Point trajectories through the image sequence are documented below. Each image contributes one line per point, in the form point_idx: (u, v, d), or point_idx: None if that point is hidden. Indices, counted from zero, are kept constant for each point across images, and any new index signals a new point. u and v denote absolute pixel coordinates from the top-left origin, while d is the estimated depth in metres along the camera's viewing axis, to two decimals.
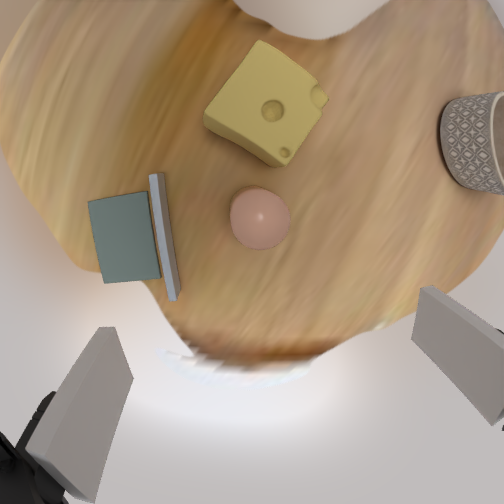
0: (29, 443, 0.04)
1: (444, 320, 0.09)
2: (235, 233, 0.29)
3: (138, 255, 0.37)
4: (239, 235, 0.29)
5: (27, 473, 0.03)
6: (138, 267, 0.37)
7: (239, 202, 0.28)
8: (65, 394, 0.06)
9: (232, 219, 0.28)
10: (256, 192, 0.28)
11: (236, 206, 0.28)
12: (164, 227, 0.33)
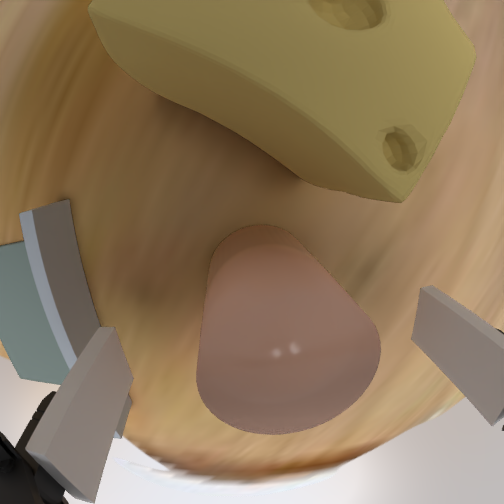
0: (29, 443, 0.04)
1: (444, 321, 0.09)
2: (214, 409, 0.08)
3: (51, 350, 0.16)
4: (228, 413, 0.08)
5: (27, 473, 0.03)
6: (57, 367, 0.17)
7: (221, 335, 0.07)
8: (65, 394, 0.06)
9: (201, 380, 0.08)
10: (284, 300, 0.07)
11: (211, 346, 0.08)
12: (68, 326, 0.13)
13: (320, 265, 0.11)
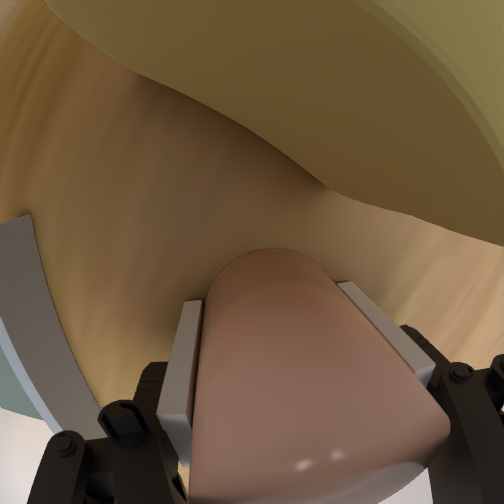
0: (160, 408, 0.06)
1: None
2: None
3: None
4: None
5: (160, 448, 0.05)
6: None
7: (225, 472, 0.04)
8: (181, 357, 0.08)
9: (196, 503, 0.04)
10: (337, 429, 0.03)
11: (209, 481, 0.04)
12: (33, 373, 0.09)
13: (365, 319, 0.07)
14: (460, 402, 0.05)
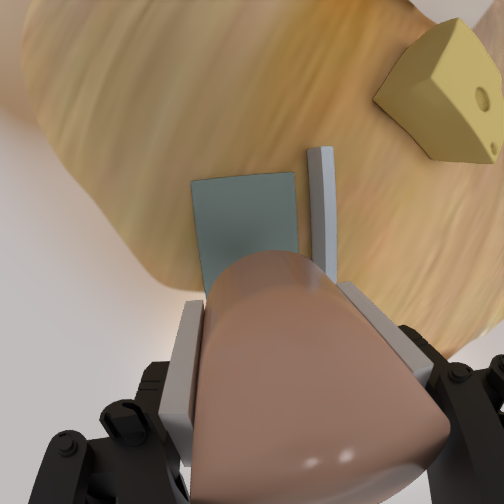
0: (162, 407, 0.06)
1: None
2: None
3: None
4: None
5: (161, 448, 0.05)
6: None
7: (226, 474, 0.04)
8: (183, 357, 0.08)
9: None
10: (338, 432, 0.03)
11: (210, 483, 0.04)
12: None
13: (366, 321, 0.07)
14: (459, 402, 0.05)
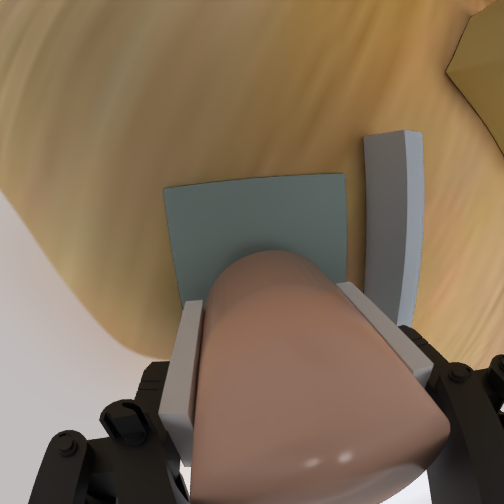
0: (161, 407, 0.06)
1: None
2: None
3: None
4: None
5: (162, 448, 0.05)
6: None
7: (226, 475, 0.04)
8: (183, 357, 0.08)
9: None
10: (338, 433, 0.03)
11: (211, 483, 0.04)
12: None
13: (366, 322, 0.07)
14: (459, 402, 0.05)
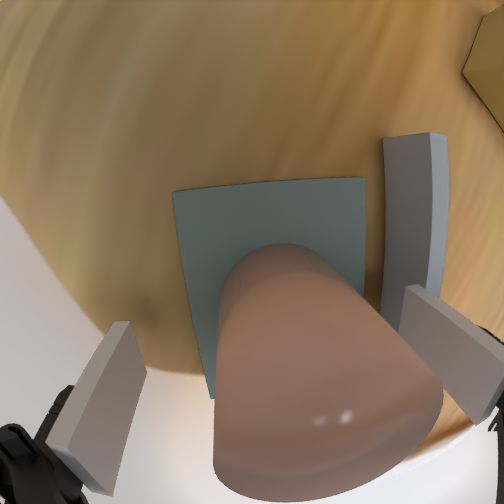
0: (49, 436, 0.04)
1: (428, 319, 0.09)
2: (235, 487, 0.05)
3: None
4: (252, 489, 0.06)
5: (47, 468, 0.04)
6: None
7: (250, 422, 0.05)
8: (84, 386, 0.06)
9: (220, 464, 0.05)
10: (344, 377, 0.04)
11: (235, 434, 0.05)
12: None
13: (366, 301, 0.08)
14: None
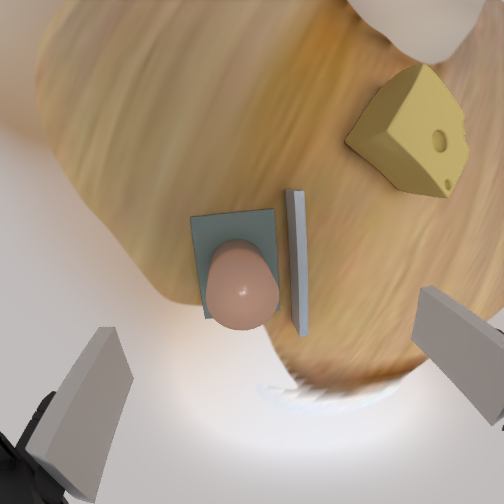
0: (29, 443, 0.04)
1: (443, 320, 0.09)
2: (211, 312, 0.23)
3: None
4: (217, 314, 0.23)
5: (27, 473, 0.03)
6: None
7: (215, 277, 0.22)
8: (65, 394, 0.06)
9: (207, 297, 0.23)
10: (236, 265, 0.22)
11: (211, 282, 0.22)
12: None
13: (259, 256, 0.26)
14: None
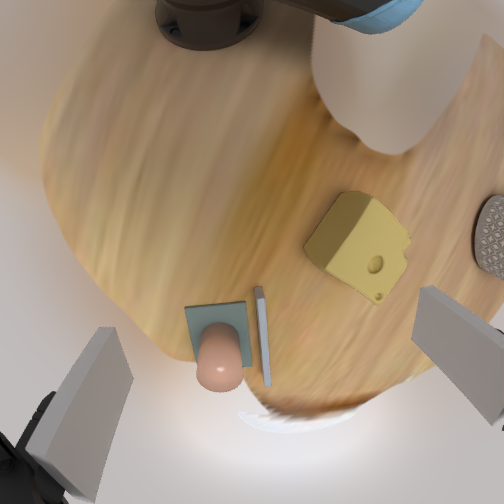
0: (29, 443, 0.04)
1: (444, 320, 0.09)
2: (200, 383, 0.34)
3: None
4: (204, 384, 0.34)
5: (27, 473, 0.03)
6: None
7: (201, 365, 0.33)
8: (65, 394, 0.06)
9: (197, 375, 0.34)
10: (214, 359, 0.33)
11: (199, 367, 0.33)
12: None
13: (231, 344, 0.37)
14: None
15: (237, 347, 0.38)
